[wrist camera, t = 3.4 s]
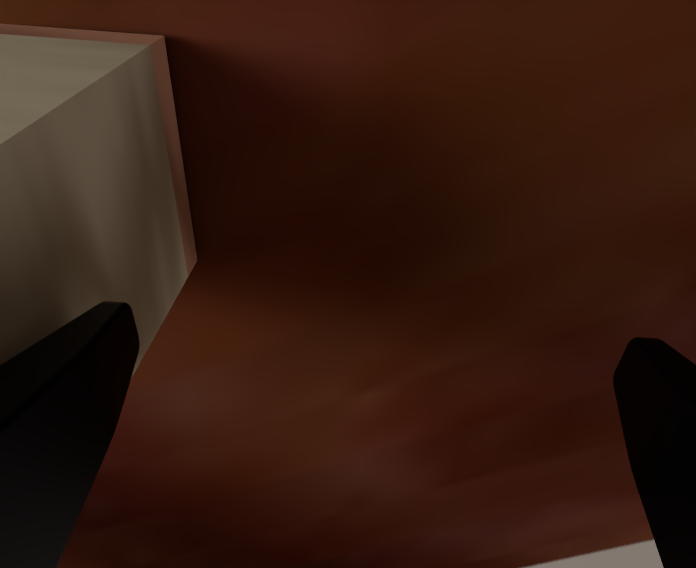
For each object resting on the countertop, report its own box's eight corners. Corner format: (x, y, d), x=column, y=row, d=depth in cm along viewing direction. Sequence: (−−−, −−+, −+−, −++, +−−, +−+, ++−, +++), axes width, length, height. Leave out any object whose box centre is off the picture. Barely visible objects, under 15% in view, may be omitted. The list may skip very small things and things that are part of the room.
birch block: (197, 260, 16) (48, 527, 9) (61, 247, 16) (-175, 499, 10) (163, 35, 12) (-117, 222, 6) (-11, 23, 12) (-468, 188, 6)
